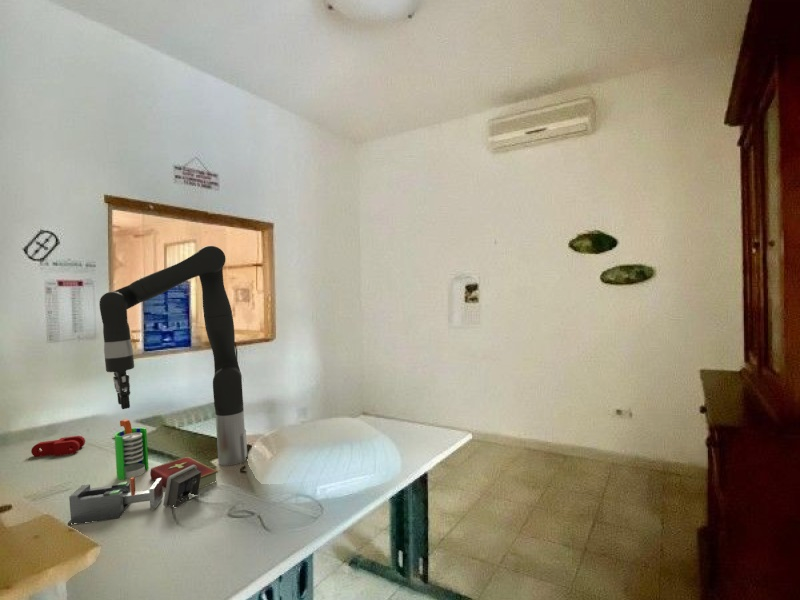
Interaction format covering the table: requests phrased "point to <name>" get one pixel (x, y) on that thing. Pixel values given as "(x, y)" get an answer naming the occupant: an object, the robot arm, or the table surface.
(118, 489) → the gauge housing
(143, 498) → the plunger
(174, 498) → the electrical switch
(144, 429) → the green-shelled ribbed roller
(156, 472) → the hardcover book
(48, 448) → the mechanical linkage
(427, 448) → the table surface
